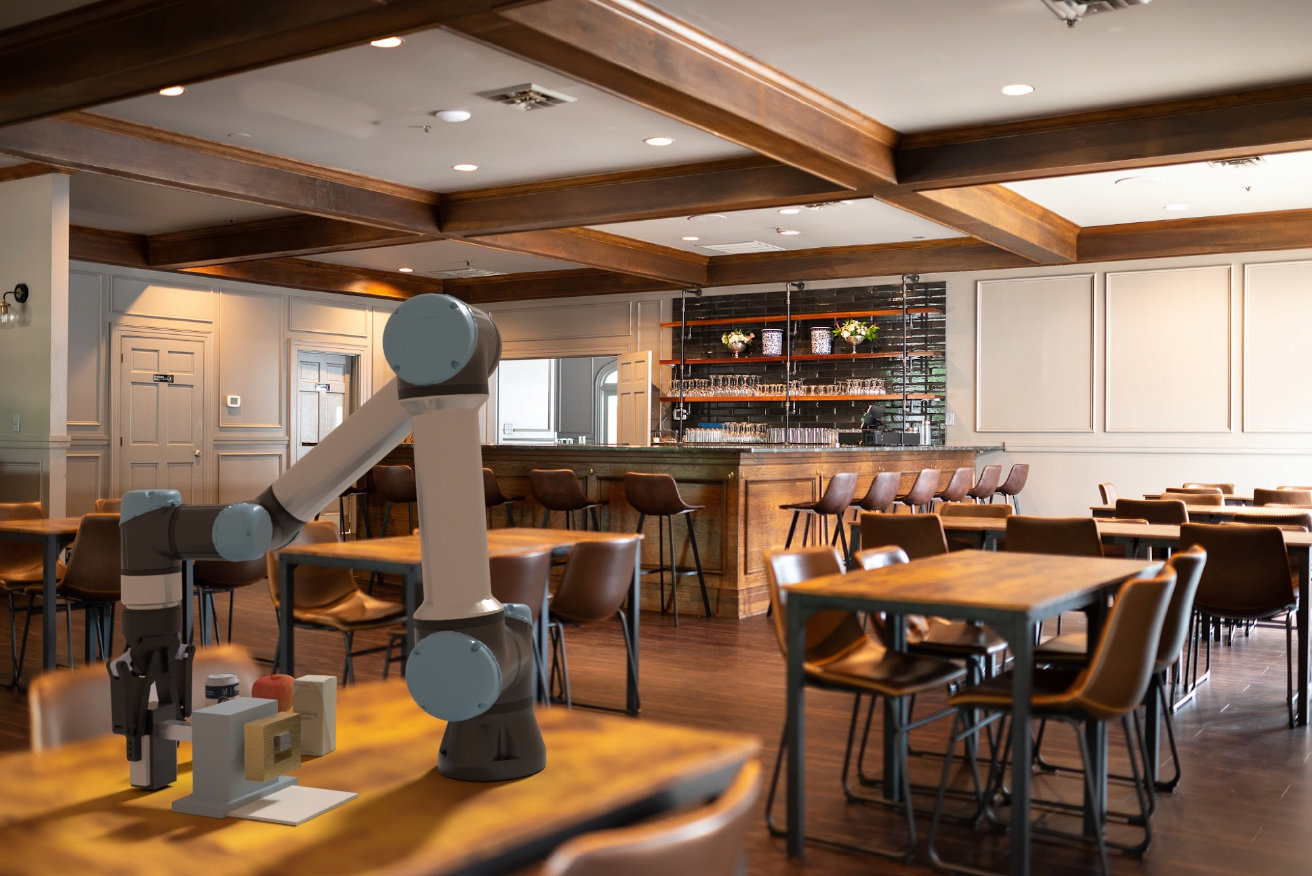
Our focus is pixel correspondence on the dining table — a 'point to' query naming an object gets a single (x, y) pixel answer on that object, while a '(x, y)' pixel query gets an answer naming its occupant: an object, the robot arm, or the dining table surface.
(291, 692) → the apple
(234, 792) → the bearing block
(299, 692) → the box
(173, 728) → the shaft
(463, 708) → the robot arm
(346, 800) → the mat
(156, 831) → the dining table surface
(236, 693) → the beer can
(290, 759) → the collar
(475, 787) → the dining table surface
